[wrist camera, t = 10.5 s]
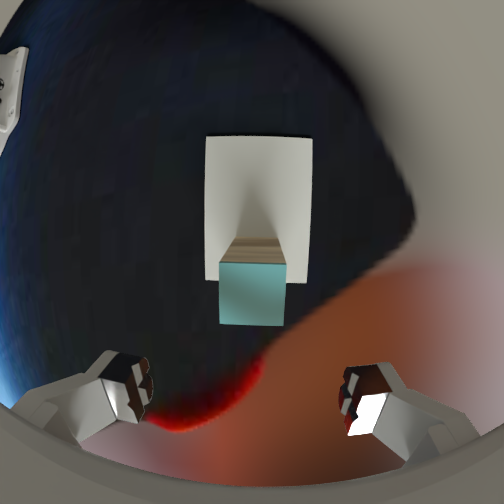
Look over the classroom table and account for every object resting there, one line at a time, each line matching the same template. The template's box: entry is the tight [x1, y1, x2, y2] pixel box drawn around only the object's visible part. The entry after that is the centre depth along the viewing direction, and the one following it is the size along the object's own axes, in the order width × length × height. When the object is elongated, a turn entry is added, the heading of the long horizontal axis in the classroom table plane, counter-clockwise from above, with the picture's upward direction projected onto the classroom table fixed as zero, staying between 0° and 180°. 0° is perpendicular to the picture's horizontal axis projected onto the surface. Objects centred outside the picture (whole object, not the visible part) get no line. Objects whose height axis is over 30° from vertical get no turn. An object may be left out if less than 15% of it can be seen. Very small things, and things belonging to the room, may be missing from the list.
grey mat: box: [205, 136, 312, 283], centre depth 25 cm, size 14×10×1 cm
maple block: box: [219, 237, 287, 326], centre depth 21 cm, size 4×4×10 cm
